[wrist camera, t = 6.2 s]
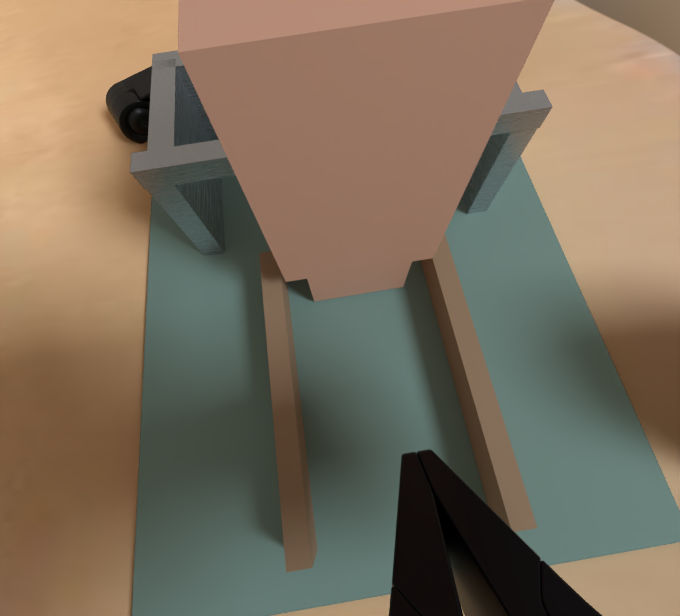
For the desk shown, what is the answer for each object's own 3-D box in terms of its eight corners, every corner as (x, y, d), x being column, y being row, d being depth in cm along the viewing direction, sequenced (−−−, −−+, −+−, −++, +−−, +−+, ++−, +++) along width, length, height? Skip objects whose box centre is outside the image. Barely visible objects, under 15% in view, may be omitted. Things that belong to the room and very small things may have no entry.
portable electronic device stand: (137, 151, 24) (108, 114, 21) (124, 130, 24) (93, 91, 22) (341, 46, 27) (339, 1, 24) (323, 30, 27) (319, -16, 24)
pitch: (685, 537, 14) (745, 557, 12) (135, 635, 14) (94, 675, 12) (486, 88, 24) (499, 54, 22) (156, 138, 23) (137, 109, 21)
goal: (486, 212, 20) (552, 106, 13) (205, 257, 20) (129, 172, 13) (448, 109, 23) (486, -19, 16) (202, 147, 23) (140, 32, 16)
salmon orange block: (420, 284, 18) (556, -5, 6) (296, 304, 18) (178, 52, 6) (404, 223, 20) (488, -111, 7) (288, 242, 20) (179, -67, 7)
